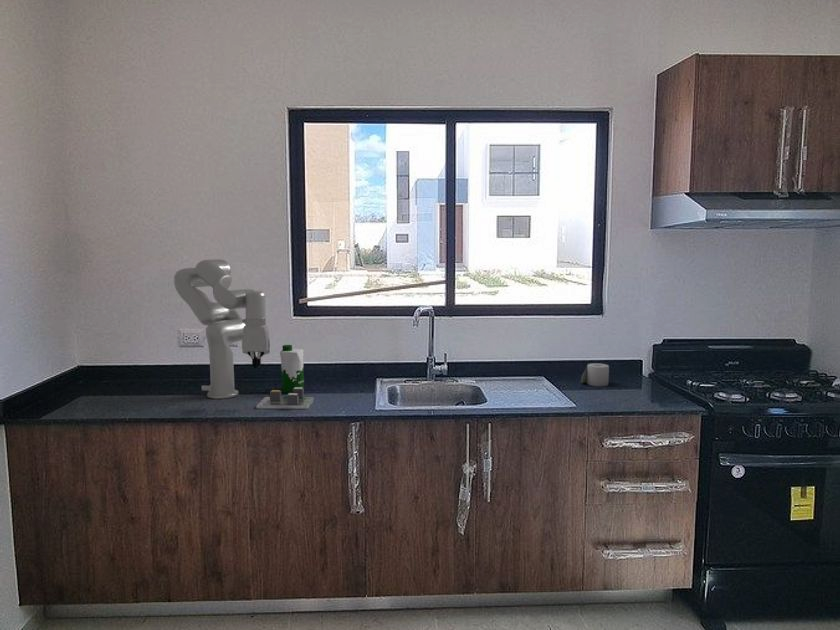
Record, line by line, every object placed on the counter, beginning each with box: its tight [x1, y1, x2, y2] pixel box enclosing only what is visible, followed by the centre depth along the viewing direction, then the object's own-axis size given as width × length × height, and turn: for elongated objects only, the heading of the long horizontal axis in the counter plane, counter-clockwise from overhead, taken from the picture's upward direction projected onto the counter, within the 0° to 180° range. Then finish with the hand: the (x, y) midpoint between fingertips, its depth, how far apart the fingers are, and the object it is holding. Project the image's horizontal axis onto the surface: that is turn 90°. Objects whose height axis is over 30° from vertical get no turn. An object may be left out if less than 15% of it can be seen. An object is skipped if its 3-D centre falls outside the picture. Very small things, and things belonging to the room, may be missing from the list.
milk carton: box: [279, 344, 305, 394], centre depth 270 cm, size 9×9×20 cm
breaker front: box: [286, 393, 299, 405], centre depth 245 cm, size 4×2×4 cm, turn 89°
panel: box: [256, 396, 315, 410], centre depth 250 cm, size 20×13×1 cm, turn 89°
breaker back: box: [293, 387, 305, 398], centre depth 255 cm, size 4×2×4 cm, turn 89°
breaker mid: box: [269, 389, 282, 401], centre depth 250 cm, size 4×2×4 cm, turn 89°
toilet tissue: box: [580, 362, 610, 387], centre depth 283 cm, size 9×13×9 cm
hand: (256, 367), depth 249 cm, fingers closed
